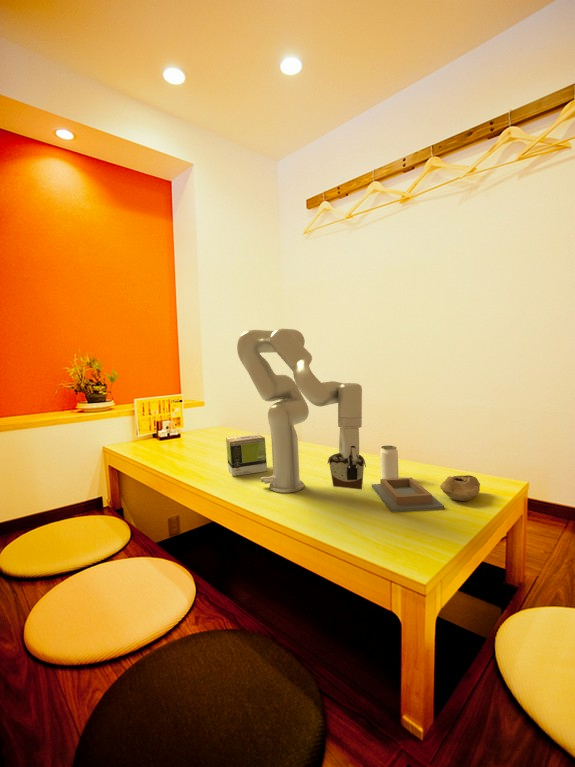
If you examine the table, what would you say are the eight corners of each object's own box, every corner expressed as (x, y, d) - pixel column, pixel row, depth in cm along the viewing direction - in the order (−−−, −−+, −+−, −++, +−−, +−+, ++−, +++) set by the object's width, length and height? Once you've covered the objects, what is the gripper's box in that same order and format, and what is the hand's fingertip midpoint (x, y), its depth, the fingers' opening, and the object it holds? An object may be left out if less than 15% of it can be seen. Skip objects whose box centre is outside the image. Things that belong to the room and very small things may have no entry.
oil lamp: (488, 494, 121) (487, 470, 121) (470, 508, 111) (469, 482, 110) (453, 487, 129) (453, 464, 129) (434, 499, 119) (433, 475, 118)
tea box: (261, 465, 166) (259, 433, 165) (267, 472, 156) (265, 437, 155) (227, 470, 161) (225, 436, 160) (231, 477, 152) (229, 441, 151)
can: (399, 481, 137) (398, 449, 136) (381, 481, 138) (380, 449, 138) (397, 476, 143) (396, 445, 143) (380, 475, 145) (379, 445, 144)
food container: (369, 481, 124) (368, 453, 122) (366, 490, 118) (365, 461, 116) (333, 477, 128) (331, 450, 126) (328, 486, 123) (327, 458, 121)
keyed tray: (391, 512, 111) (391, 500, 110) (371, 487, 133) (371, 477, 132) (444, 508, 111) (444, 497, 111) (416, 484, 133) (415, 474, 133)
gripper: (333, 417, 128) (333, 467, 130) (343, 427, 111) (343, 485, 113) (355, 416, 129) (355, 467, 130) (368, 427, 111) (367, 484, 113)
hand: (349, 475), depth 121 cm, fingers closed on food container, 7 cm apart
